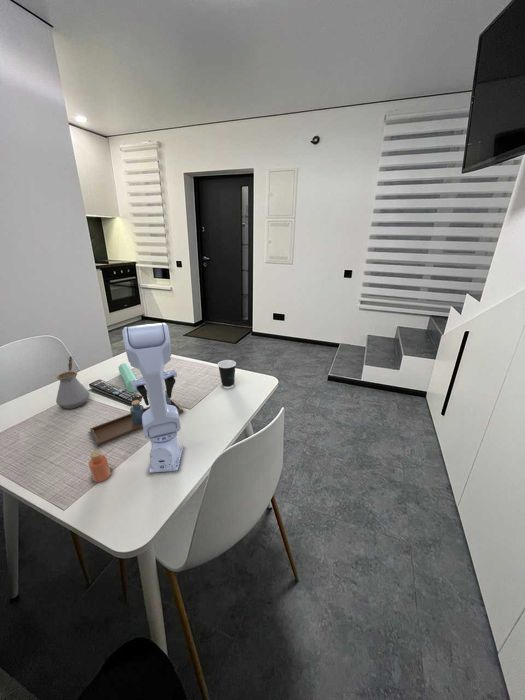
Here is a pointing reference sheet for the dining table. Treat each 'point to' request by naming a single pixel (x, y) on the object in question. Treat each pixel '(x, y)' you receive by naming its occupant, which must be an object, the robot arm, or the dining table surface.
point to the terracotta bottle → (99, 466)
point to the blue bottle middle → (136, 412)
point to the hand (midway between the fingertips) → (158, 400)
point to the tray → (119, 427)
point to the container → (127, 376)
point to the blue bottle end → (167, 399)
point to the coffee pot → (71, 390)
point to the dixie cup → (227, 372)
